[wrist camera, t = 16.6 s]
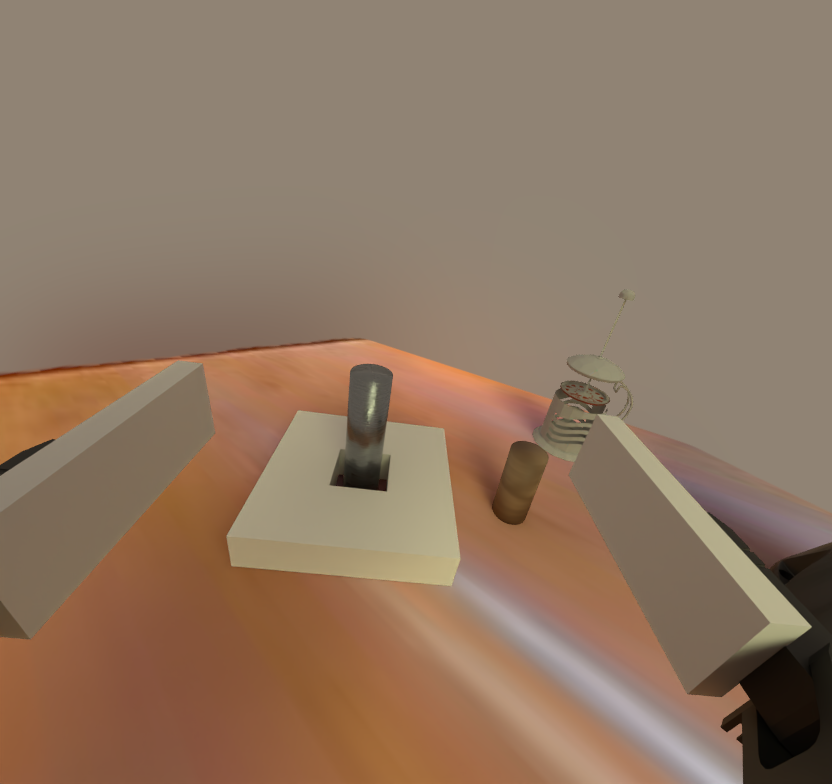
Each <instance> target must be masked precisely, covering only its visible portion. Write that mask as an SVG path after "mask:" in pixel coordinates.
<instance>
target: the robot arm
mask: <svg viewBox="0 0 832 784" xmlns="http://www.w3.org/2000/svg"><path fill="white" fill-rule="evenodd" d="M214 434H215V429H214V424H213V418H212V413H211V407H210V401H209V396H208V390H207V385H206V379H205V374H204V368H203V364H201V363H194V362H186V361H177V362H175V363H174V364H172V365H170V366H169V367H167V368H166V369H164V370H163V371H161V372H160V373H158V374H157V375H155V376H154V377H152V378H150V379H149V380H147V381H146V382H144V383H143V384H141V385H140V386H138V387H137V388H135V389H133V390H132V391H130V392H129V393H127V394H126V395H124V396H123V397H121V398H120V399H118V400H116V401H115V402H113V403H112V404H110V405H109V406H107V407H106V408H104V409H103V410H101V411H100V412H98V413H96V414H95V415H93V416H92V417H90V418H89V419H87V420H86V421H84V422H83V423H81V424H79V425H78V426H76V427H75V428H73V429H72V430H70V431H69V432H67V433H66V434H64V435H62V436H61V437H59V438H58V439H56V440H55V439H52V440H49V441H47V442H44V443H42V444H39V445H37V446H35V447H32V448H30V449H27V450H25V451H22V452H20V453H19V454H17V455H16V456H14V457H12V458H11V459H9V460H8V461H6V462H4V463H3V464H1V465H0V637H8V638H20V639H31V638H32V637H33V636H34V635H35V634H36V633H37V632H38V631H39V629H40V628H41V627H42V626H43V625H44V624H45V623H46V622H47V621H48V619H49V618H50V617H51V616H52V615H53V614H54V613H55V612H56V610H57V609H58V608H59V607H60V606H61V605H62V604H63V603H64V602H65V600H66V599H67V598H68V597H69V596H70V595H71V594H72V593H73V591H74V590H75V589H76V588H77V587H78V586H79V585H80V584H81V583H82V581H83V580H84V579H85V578H86V577H87V576H88V575H89V574H90V573H91V571H92V570H93V569H94V568H95V567H96V566H97V565H98V564H99V562H100V561H101V560H102V559H103V558H104V557H105V556H106V555H107V554H108V552H109V551H110V550H111V549H112V548H113V547H114V546H115V545H116V543H117V542H118V541H119V540H120V539H121V538H122V537H123V536H124V535H125V533H126V532H127V531H128V530H129V529H130V528H131V527H132V526H133V524H134V523H135V522H136V521H137V520H138V519H139V518H140V517H141V516H142V514H143V513H144V512H145V511H146V510H147V509H148V508H149V507H150V506H151V504H152V503H153V502H154V501H155V500H156V499H157V498H158V497H159V495H160V494H161V493H162V492H163V491H164V490H165V489H166V488H167V487H168V485H169V484H170V483H171V482H172V481H173V480H174V479H175V478H176V476H177V475H178V474H179V473H180V472H181V471H182V470H183V469H184V468H185V466H186V465H187V464H188V463H189V462H190V461H191V460H192V459H193V457H194V456H195V455H196V454H197V453H198V452H199V451H200V450H201V449H202V447H203V446H204V445H205V444H206V443H207V442H208V441H209V440H210V439H211V437H212V436H213V435H214ZM569 476H570V478H571V480H572V482H573V484H574V486H575V487H576V489H577V491H578V493H579V495H580V497H581V498H582V500H583V502H584V504H585V506H586V508H587V510H588V511H589V513H590V515H591V517H592V519H593V521H594V523H595V524H596V526H597V528H598V530H599V532H600V534H601V535H602V537H603V539H604V541H605V543H606V545H607V547H608V548H609V550H610V552H611V554H612V556H613V558H614V560H615V561H616V563H617V565H618V567H619V569H620V571H621V572H622V574H623V576H624V578H625V580H626V582H627V584H628V585H629V587H630V589H631V591H632V593H633V595H634V597H635V598H636V600H637V602H638V604H639V606H640V608H641V609H642V611H643V613H644V615H645V617H646V619H647V621H648V622H649V624H650V626H651V628H652V630H653V632H654V634H655V635H656V637H657V639H658V641H659V643H660V645H661V646H662V648H663V650H664V652H665V654H666V656H667V658H668V659H669V661H670V663H671V665H672V667H673V669H674V671H675V672H676V674H677V676H678V678H679V680H680V682H681V683H682V685H683V687H684V689H685V691H686V693H687V694H691V695H703V696H715V697H722V696H724V695H725V694H726V693H728V692H729V691H730V690H731V689H733V688H734V687H735V686H737V685H738V684H739V683H740V685H741V686H742V688H743V689H744V691H745V692H746V694H747V695H748V697H749V698H750V700H749V701H747V702H746V703H745V704H743V705H742V706H741V707H739V708H738V709H736V710H735V711H734V712H732V713H731V714H729V715H728V716H727V717H725V718H724V719H723V722H722V725H721V728H722V729H723V730H725V731H726V732H728V731H730V730H731V729H733V728H734V727H735V726H737V725H738V724H740V723H741V724H742V734H741V735H740V736H738V737H737V740H738V741H739V742H741V743H742V744H743V784H832V542H831V543H828V544H825V545H822V546H819V547H816V548H813V549H810V550H807V551H805V552H802V553H799V554H796V555H793V556H790V557H787V558H784V559H782V560H780V561H778V562H777V563H775V564H774V565H773V566H772V567H771V568H770V569H766V568H765V564H764V563H763V562H762V561H761V560H760V559H759V558H758V557H757V556H756V555H755V554H754V552H750V550H749V549H750V548H749V547H748V546H747V545H746V544H745V543H744V542H743V541H742V540H741V539H740V538H739V537H738V536H737V535H736V533H735V532H734V531H733V530H732V529H730V528H729V527H728V526H726V525H725V524H724V523H722V522H721V521H720V520H718V519H717V518H716V517H714V516H713V515H712V514H710V513H708V512H706V511H705V510H704V509H703V508H702V507H701V506H700V505H699V504H698V503H697V501H696V500H695V499H694V498H693V497H692V496H691V495H690V494H689V493H688V492H687V491H686V490H685V488H684V487H683V486H682V485H681V484H680V483H679V482H678V481H677V480H676V479H675V478H674V476H673V475H672V474H671V473H670V472H669V471H668V470H667V469H666V468H665V467H664V466H663V465H662V463H661V462H660V461H659V460H658V459H657V458H656V457H655V456H654V455H653V454H652V453H651V451H650V450H649V449H648V448H647V447H646V446H645V445H644V444H643V443H642V442H641V441H640V440H639V438H638V437H637V436H636V435H635V434H634V433H633V432H632V431H631V430H630V429H629V428H628V426H627V425H626V424H625V423H624V422H623V421H622V420H621V419H620V418H619V417H617V416H609V415H601V414H597V415H596V417H595V419H594V421H593V424H592V426H591V428H590V430H589V432H588V434H587V436H586V439H585V441H584V443H583V445H582V447H581V449H580V451H579V454H578V456H577V458H576V460H575V462H574V464H573V466H572V469H571V471H570V473H569Z"/></svg>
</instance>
